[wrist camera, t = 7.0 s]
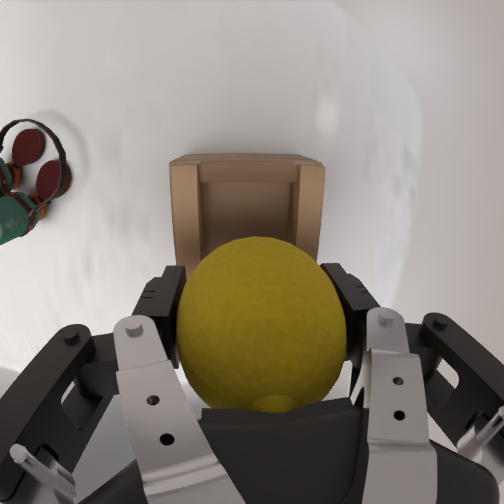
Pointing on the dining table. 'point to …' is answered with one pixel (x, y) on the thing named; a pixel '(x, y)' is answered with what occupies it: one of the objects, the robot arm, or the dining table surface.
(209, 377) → the lemon
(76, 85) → the dining table surface
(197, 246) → the wooden crate
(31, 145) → the binoculars
